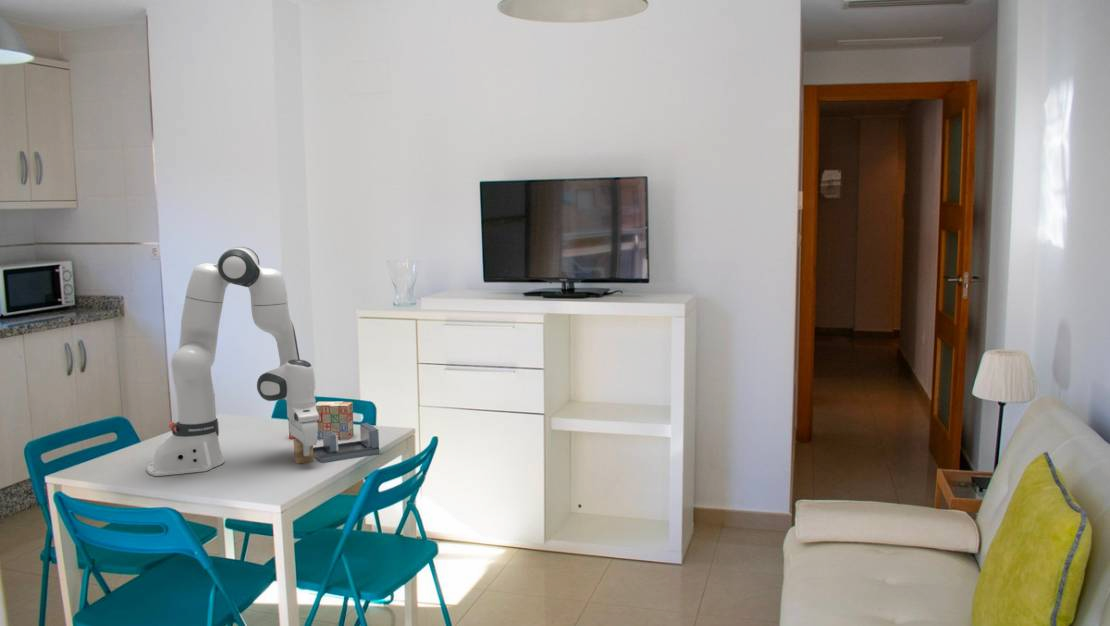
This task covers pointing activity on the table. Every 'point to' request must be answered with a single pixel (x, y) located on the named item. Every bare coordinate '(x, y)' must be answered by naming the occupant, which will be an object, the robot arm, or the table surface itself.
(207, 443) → the robot arm
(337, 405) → the stack of blocks
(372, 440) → the vise base
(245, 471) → the table surface
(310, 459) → the oak block
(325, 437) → the sliding jaw
